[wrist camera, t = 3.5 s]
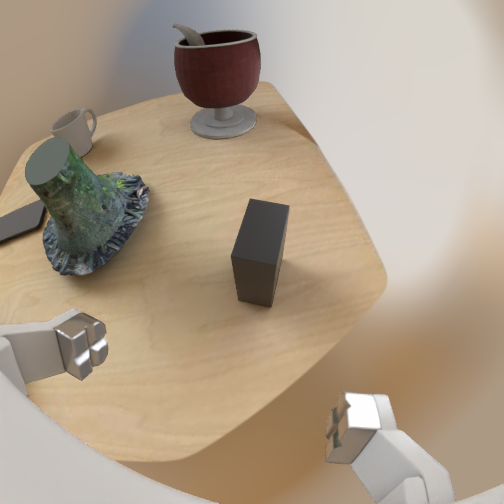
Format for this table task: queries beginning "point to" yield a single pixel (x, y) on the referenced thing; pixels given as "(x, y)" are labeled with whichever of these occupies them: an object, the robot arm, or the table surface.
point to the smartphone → (22, 221)
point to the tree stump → (83, 207)
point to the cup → (76, 130)
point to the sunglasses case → (259, 251)
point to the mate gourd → (218, 79)
